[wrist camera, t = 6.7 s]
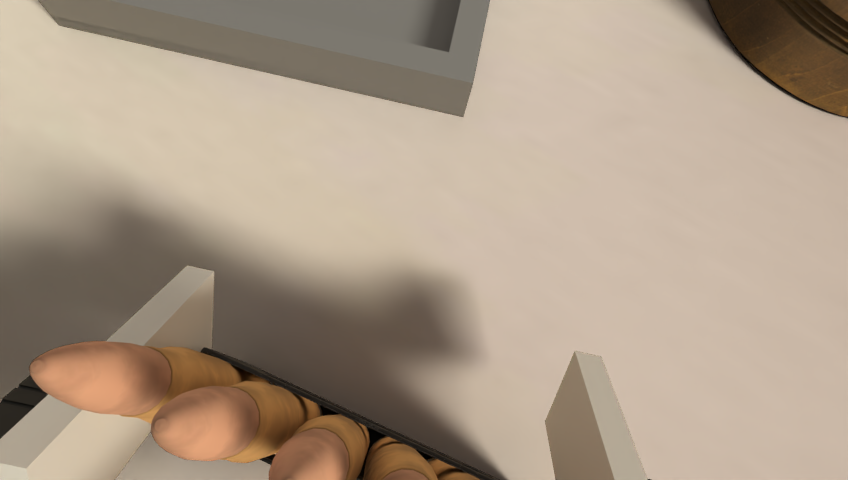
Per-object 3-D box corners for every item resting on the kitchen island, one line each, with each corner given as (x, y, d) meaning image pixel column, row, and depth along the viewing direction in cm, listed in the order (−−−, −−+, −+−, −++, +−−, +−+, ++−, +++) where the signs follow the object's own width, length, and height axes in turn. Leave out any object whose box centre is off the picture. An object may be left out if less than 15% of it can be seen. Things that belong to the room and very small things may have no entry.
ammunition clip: (518, 488, 18) (777, 622, 6) (500, 544, 17) (749, 808, 6) (242, 361, 18) (19, 271, 7) (215, 411, 17) (-82, 405, 6)
